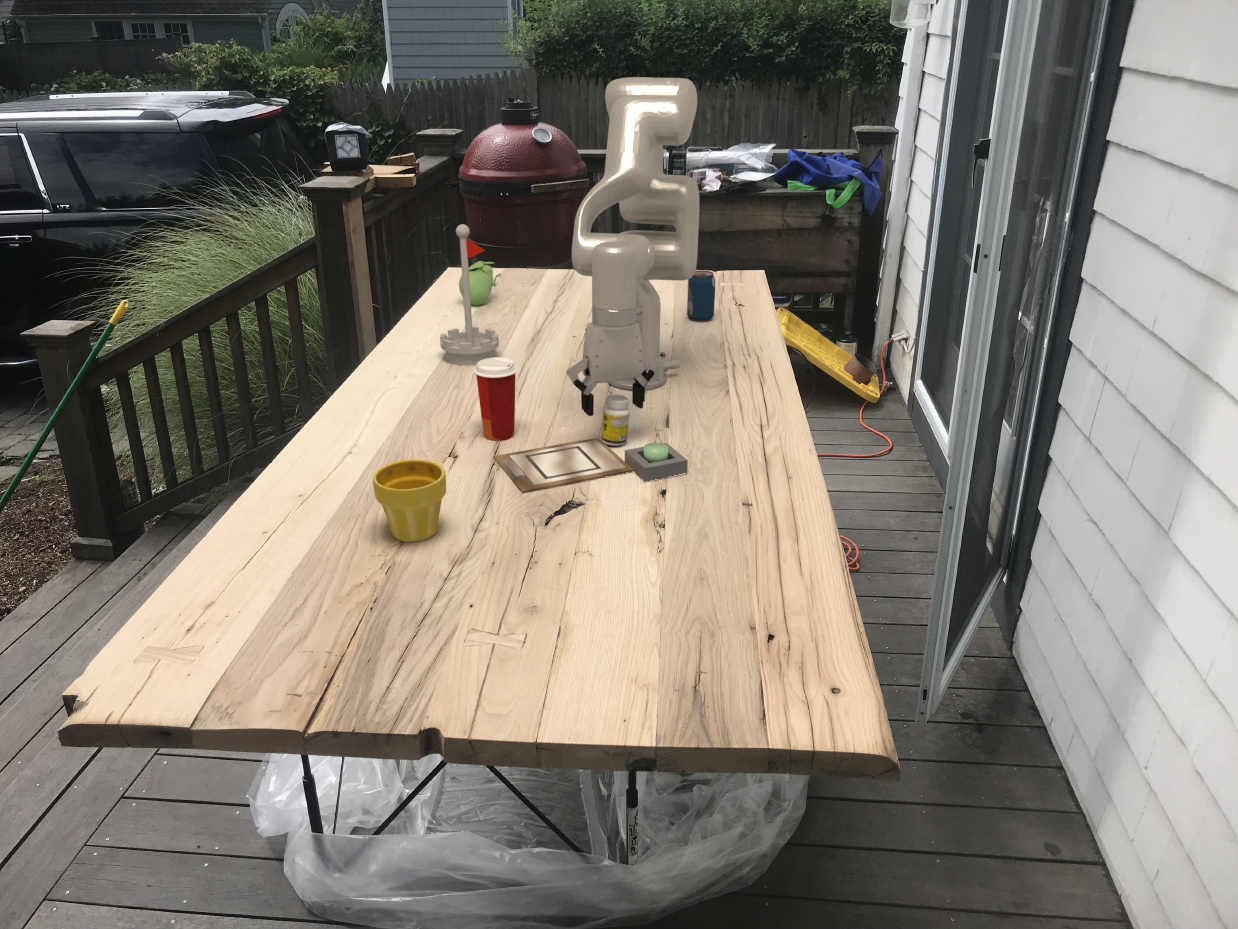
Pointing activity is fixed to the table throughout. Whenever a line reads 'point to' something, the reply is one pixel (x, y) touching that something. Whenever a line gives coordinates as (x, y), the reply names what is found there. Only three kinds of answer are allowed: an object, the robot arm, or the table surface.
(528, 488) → the brown bordered board
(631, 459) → the button housing
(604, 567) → the table surface
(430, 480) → the plant pot
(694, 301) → the soda can
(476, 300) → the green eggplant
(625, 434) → the supplement bottle
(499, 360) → the paper cup
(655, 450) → the button
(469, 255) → the flag stand
